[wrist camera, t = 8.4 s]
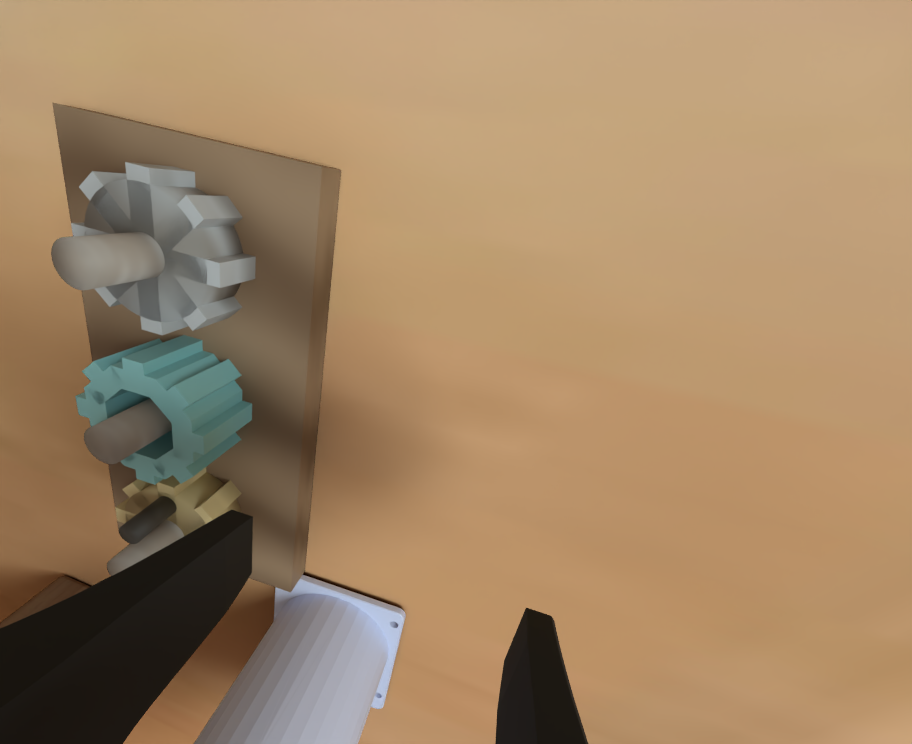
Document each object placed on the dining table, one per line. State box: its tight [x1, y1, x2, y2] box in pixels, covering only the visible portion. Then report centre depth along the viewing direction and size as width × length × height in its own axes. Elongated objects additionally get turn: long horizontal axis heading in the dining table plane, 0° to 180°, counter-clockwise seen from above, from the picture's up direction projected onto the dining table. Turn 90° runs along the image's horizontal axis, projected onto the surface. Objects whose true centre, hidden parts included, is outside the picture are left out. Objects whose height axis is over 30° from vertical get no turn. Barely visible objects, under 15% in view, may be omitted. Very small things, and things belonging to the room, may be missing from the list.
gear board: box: [51, 103, 341, 592], centre depth 18 cm, size 22×11×6 cm, turn 168°
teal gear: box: [76, 335, 252, 485], centre depth 18 cm, size 6×6×3 cm
